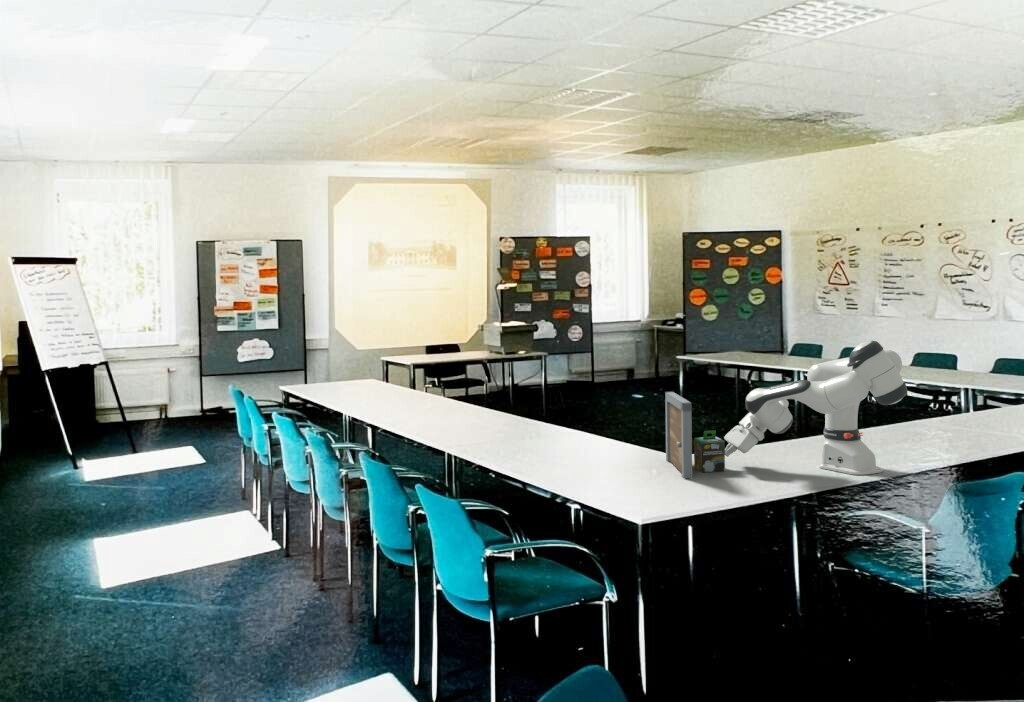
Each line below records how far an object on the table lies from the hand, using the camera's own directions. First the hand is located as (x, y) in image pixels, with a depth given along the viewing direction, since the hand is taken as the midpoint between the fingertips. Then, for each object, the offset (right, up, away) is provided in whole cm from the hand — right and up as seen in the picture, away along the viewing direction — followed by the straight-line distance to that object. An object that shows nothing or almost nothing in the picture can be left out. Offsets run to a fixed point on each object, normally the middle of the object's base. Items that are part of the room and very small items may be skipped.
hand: (724, 454), depth 302 cm
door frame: (-17, -6, +3) cm, 18 cm away
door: (-17, -5, +2) cm, 18 cm away
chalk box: (-6, -6, +1) cm, 8 cm away
